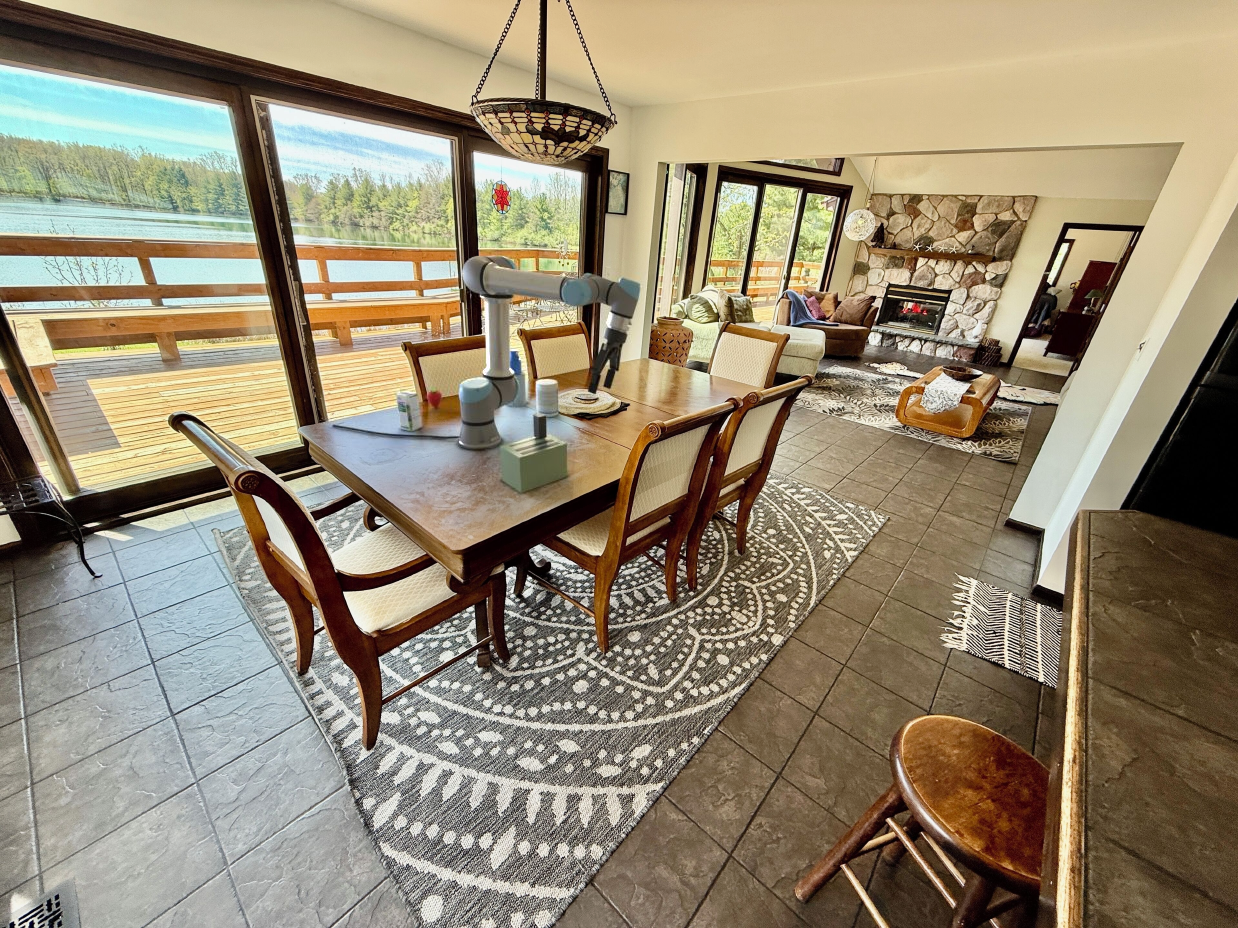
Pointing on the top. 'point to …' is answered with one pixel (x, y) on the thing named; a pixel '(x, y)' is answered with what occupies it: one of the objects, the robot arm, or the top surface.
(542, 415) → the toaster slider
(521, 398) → the spray bottle
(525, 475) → the toaster
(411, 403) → the syrup box
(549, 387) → the supplement tub
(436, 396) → the strawberry
